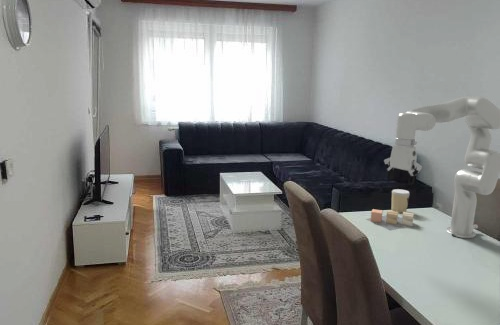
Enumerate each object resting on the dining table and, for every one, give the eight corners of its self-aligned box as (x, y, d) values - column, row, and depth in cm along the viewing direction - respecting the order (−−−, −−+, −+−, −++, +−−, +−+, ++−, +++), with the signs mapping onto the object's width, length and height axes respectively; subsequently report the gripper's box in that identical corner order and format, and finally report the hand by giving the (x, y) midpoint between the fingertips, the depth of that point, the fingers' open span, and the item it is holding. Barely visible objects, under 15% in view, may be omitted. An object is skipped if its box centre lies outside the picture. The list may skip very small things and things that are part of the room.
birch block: (402, 221, 204) (403, 211, 203) (412, 222, 202) (413, 213, 201) (401, 224, 200) (402, 214, 199) (412, 226, 198) (413, 216, 197)
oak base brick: (386, 219, 206) (387, 210, 205) (397, 221, 204) (398, 212, 203) (385, 222, 201) (386, 213, 200) (396, 224, 199) (397, 214, 198)
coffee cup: (410, 214, 217) (412, 193, 215) (393, 214, 217) (395, 193, 215) (403, 209, 227) (406, 189, 224) (387, 209, 227) (389, 188, 224)
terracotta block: (371, 218, 207) (372, 209, 206) (381, 219, 206) (382, 210, 204) (370, 221, 203) (371, 211, 202) (380, 222, 201) (381, 213, 200)
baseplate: (392, 216, 214) (392, 214, 214) (418, 226, 199) (418, 224, 199) (365, 220, 206) (365, 219, 206) (389, 232, 191) (390, 230, 191)
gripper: (428, 144, 162) (424, 185, 165) (391, 139, 175) (388, 176, 179) (418, 146, 158) (414, 187, 161) (381, 140, 171) (378, 178, 175)
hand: (400, 182), depth 170 cm, fingers open, 9 cm apart
